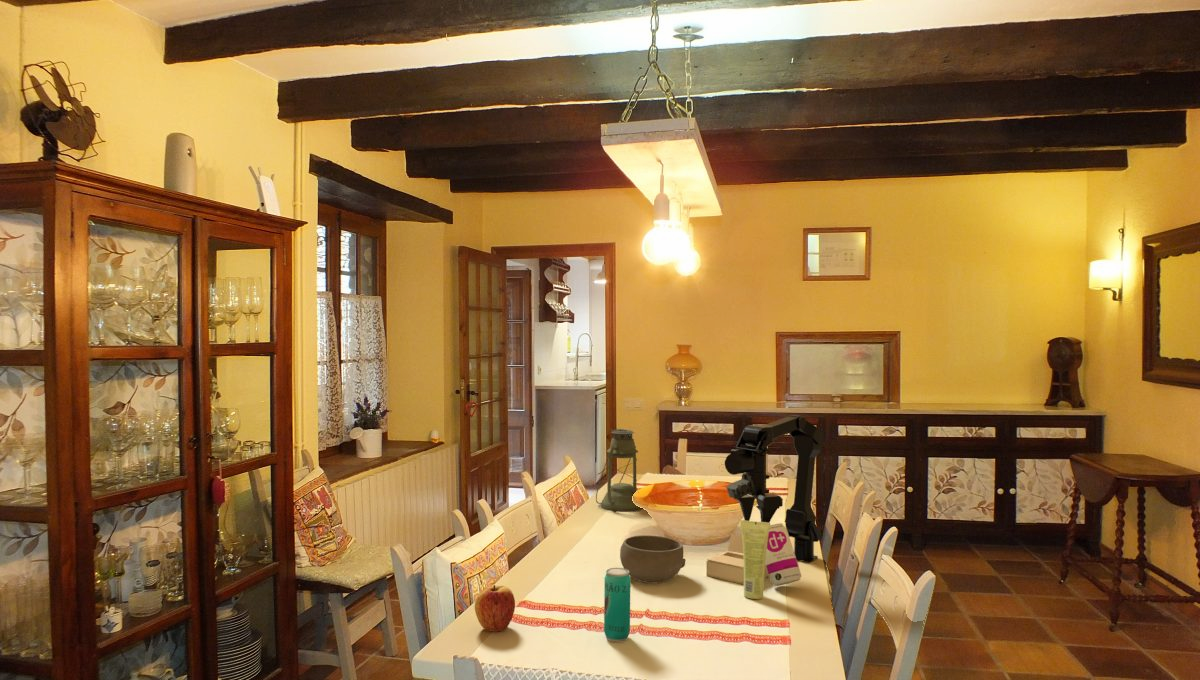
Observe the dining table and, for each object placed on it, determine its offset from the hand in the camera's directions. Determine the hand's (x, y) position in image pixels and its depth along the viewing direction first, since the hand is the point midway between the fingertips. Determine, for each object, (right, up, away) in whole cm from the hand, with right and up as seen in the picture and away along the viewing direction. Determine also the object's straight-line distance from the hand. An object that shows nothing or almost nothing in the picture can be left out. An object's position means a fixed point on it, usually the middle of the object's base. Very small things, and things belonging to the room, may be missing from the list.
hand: (755, 525), depth 215 cm
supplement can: (+6, -12, -13) cm, 19 cm away
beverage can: (-40, -14, -46) cm, 63 cm away
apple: (-68, -14, -41) cm, 81 cm away
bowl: (-29, -14, -4) cm, 33 cm away
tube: (-4, -14, -18) cm, 24 cm away
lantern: (-36, -13, +82) cm, 90 cm away
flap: (0, -7, +4) cm, 8 cm away
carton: (-5, -14, -1) cm, 15 cm away
